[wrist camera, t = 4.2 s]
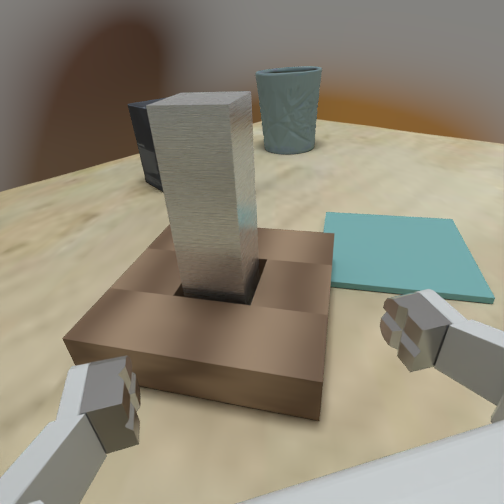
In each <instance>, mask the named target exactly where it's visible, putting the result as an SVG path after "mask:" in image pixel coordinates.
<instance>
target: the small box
mask: <svg viewBox="0 0 504 504" xmlns="http://www.w3.org/2000/svg"><path fill="white" fill-rule="evenodd" d="M163 99H166V98H162V99H156V100H149V101H143V102H137V103H131V104H128V108H129V112H130V116H131V120H132V124H133V128H134V132H135V136H136V140H137V145H138V149H139V154H140V158H141V162H142V166H143V170H144V175H145V180H146V182H147V183H149V184H151V185H152V186H154V187H156V188H157V189H159V190H161V191H162V192H163V187H162V182H161V177H160V172H159V167H158V162H157V157H156V152H155V148H154V143H153V138H152V133H151V128H150V123H149V118H148V113H147V108H146V105H149V104H152V103H154V102H157V101H160V100H163Z"/></svg>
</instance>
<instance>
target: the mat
mask: <svg viewBox="0 0 504 504" xmlns="http://www.w3.org/2000/svg"><path fill="white" fill-rule="evenodd" d="M323 233H335V235H334V247H333V260H332V273H331V286H330V287H339V288H348V289H358V290H367V291H377V292H386V293H396V294H408V293H414V292H417V291H421V290H426V289H431V290H433V291H435V292H436V293H437V294H438V295H439V296H440V297H442V298H443V299H453V300H462V301H472V302H481V303H491V304H493V302H494V299H495V297H494V295H493V293H492V292H491V290H490V288H489V286H488V284H487V282H486V281H485V279H484V277H483V275H482V273H481V271H480V269H479V268H478V266H477V264H476V262H475V260H474V258H473V257H472V255H471V253H470V251H469V249H468V247H467V246H466V244H465V242H464V240H463V238H462V236H461V234H460V233H459V231H458V229H457V227H456V225H455V223H454V222H453V220H452V219H440V218H422V217H405V216H387V215H370V214H352V213H335V212H326V218H325V225H324V232H323Z"/></svg>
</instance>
